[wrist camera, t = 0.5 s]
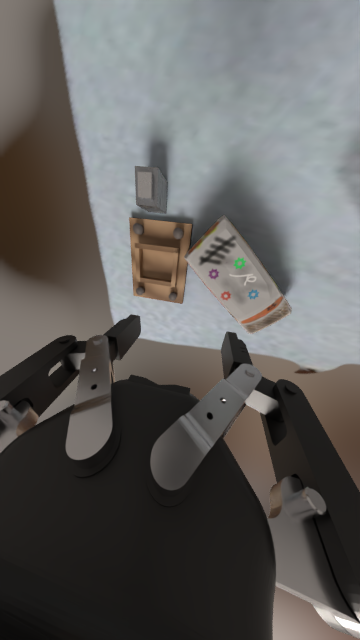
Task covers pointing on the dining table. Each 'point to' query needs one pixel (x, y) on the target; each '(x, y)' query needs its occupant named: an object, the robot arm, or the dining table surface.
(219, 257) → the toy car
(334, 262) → the dining table surface
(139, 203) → the block
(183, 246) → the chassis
